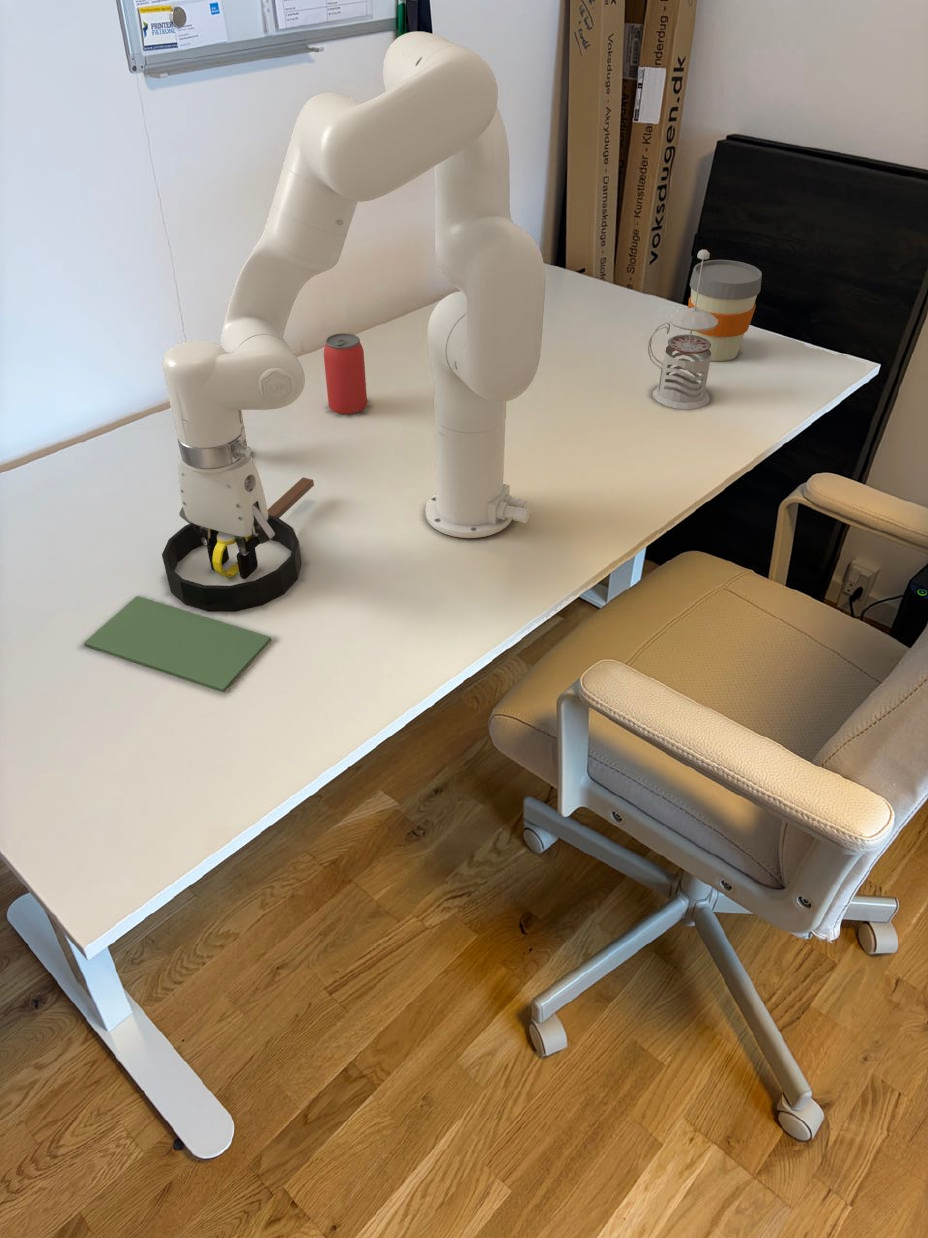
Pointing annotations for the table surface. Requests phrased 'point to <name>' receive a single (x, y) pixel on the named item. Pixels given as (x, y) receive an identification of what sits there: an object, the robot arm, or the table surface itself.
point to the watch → (218, 551)
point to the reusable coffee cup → (725, 303)
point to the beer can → (345, 374)
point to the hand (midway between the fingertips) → (234, 568)
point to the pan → (247, 592)
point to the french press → (680, 385)
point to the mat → (179, 643)
